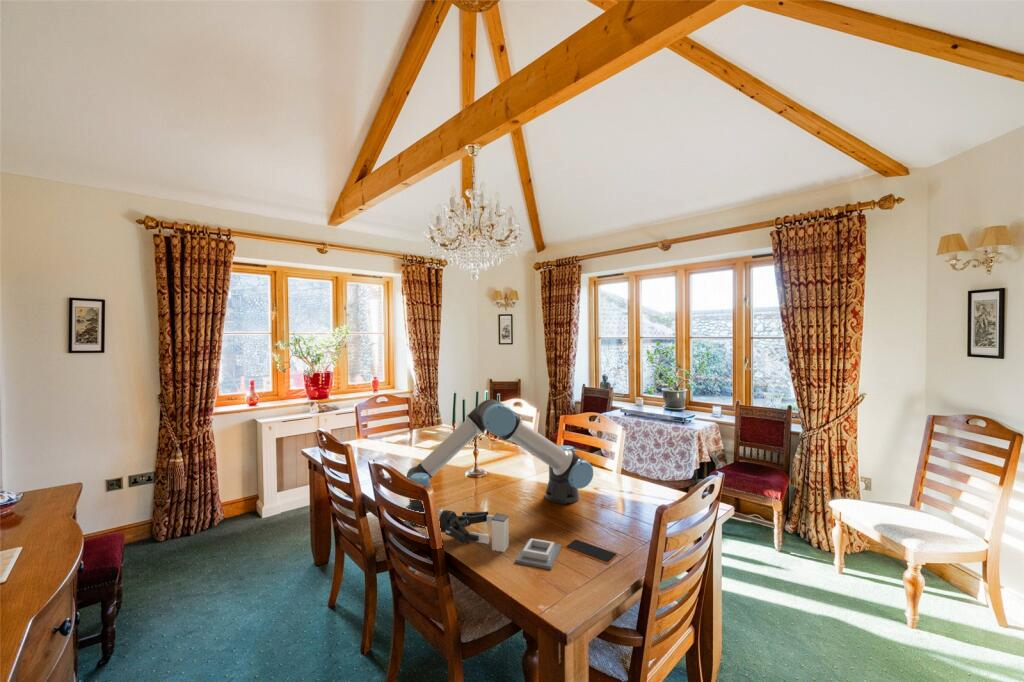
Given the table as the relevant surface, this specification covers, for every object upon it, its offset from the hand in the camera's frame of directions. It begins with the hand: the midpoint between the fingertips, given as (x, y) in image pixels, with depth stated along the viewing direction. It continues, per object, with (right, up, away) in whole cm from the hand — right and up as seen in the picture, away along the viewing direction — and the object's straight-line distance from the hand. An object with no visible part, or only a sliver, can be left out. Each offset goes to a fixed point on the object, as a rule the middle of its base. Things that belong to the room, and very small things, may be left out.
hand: (496, 530), depth 145 cm
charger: (+1, -6, 0) cm, 6 cm away
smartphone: (+32, -7, -3) cm, 33 cm away
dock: (+15, -6, -5) cm, 17 cm away
